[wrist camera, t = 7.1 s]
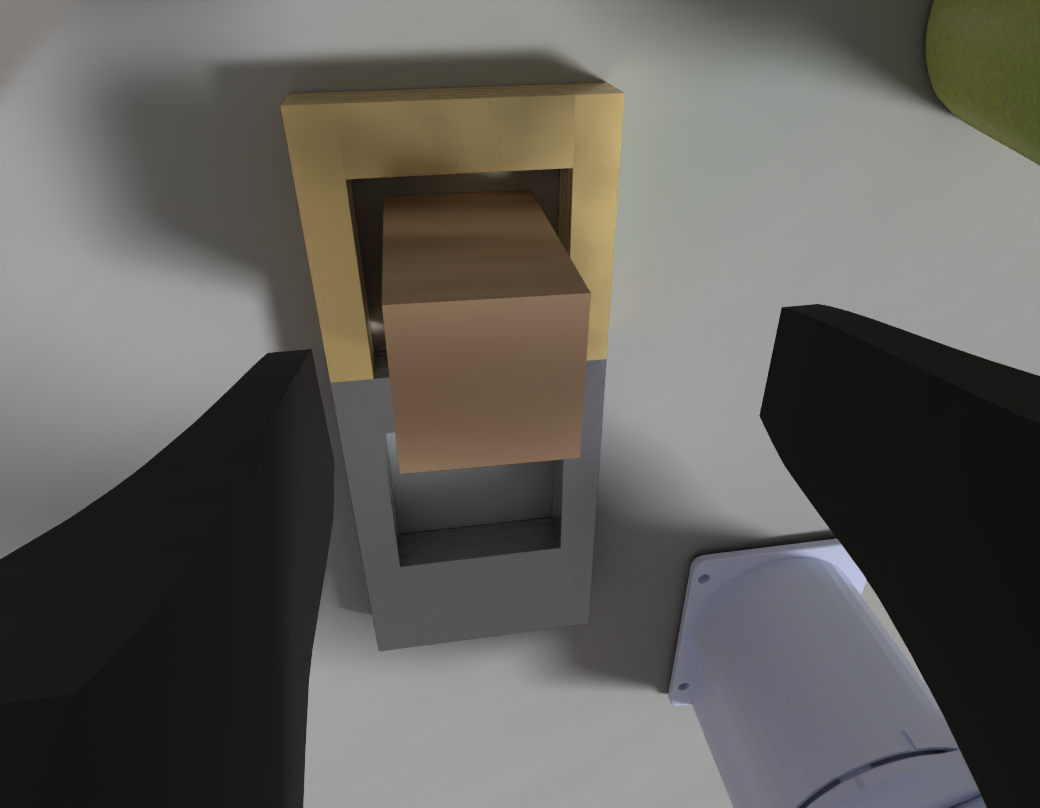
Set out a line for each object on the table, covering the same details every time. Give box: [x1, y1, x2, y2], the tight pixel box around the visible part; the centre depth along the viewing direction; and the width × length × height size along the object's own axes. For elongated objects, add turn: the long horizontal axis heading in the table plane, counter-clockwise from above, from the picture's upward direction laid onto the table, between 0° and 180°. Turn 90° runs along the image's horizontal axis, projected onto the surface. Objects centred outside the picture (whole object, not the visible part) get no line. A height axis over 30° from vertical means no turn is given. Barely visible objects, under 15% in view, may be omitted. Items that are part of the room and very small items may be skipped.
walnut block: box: [382, 190, 591, 474], centre depth 17 cm, size 4×4×7 cm
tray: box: [280, 82, 624, 651], centre depth 22 cm, size 19×8×2 cm, turn 1°
